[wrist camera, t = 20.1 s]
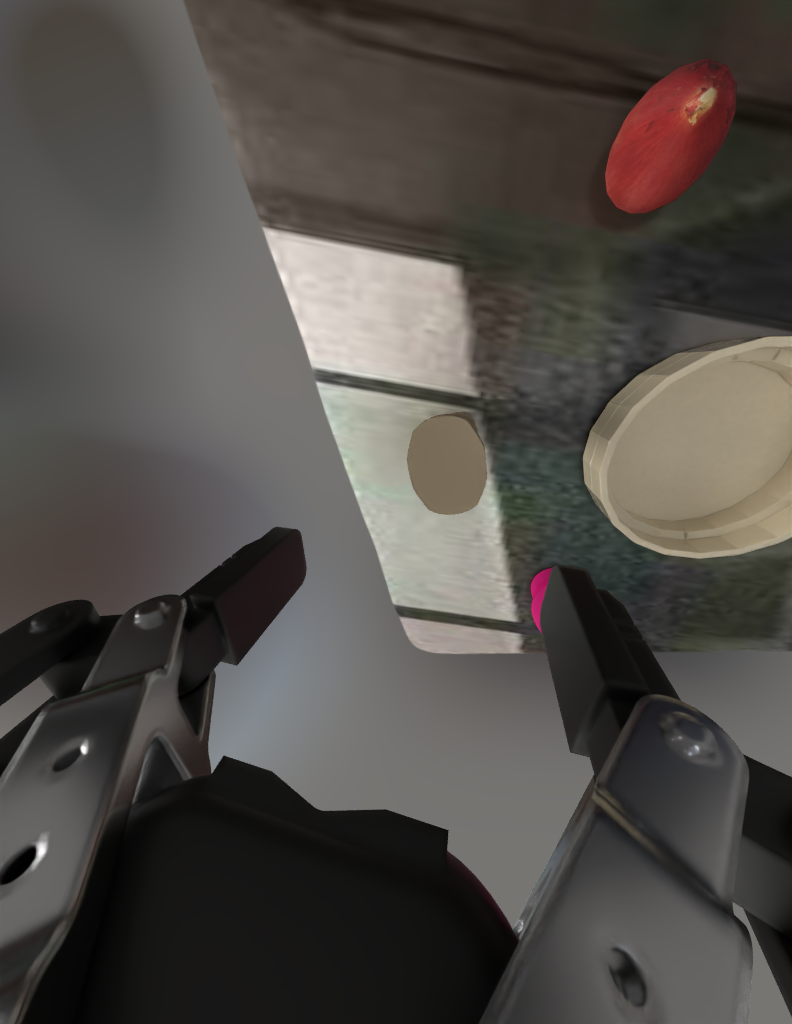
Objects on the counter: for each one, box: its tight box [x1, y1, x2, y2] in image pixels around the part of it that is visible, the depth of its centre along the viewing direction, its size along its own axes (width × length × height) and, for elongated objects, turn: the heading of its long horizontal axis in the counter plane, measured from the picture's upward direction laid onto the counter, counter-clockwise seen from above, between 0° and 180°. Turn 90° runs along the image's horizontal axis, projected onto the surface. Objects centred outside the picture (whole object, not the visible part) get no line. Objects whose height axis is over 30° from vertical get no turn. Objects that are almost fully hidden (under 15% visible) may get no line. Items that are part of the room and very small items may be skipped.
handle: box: [407, 412, 487, 515], centre depth 25 cm, size 5×6×15 cm
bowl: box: [583, 336, 792, 558], centre depth 25 cm, size 17×17×6 cm
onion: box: [605, 58, 737, 214], centre depth 18 cm, size 6×6×8 cm
